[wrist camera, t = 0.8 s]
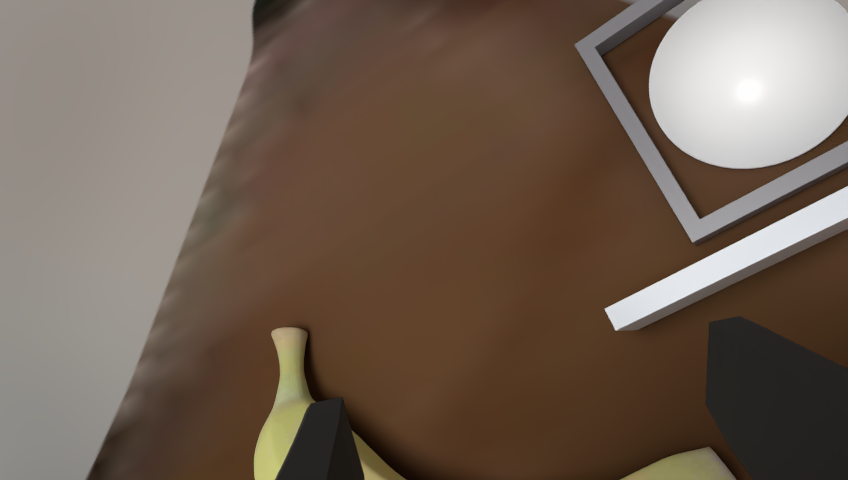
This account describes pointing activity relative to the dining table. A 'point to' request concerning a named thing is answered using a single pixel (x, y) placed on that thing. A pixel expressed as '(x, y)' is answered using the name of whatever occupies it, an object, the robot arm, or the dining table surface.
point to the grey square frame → (736, 94)
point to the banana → (673, 476)
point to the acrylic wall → (733, 263)
